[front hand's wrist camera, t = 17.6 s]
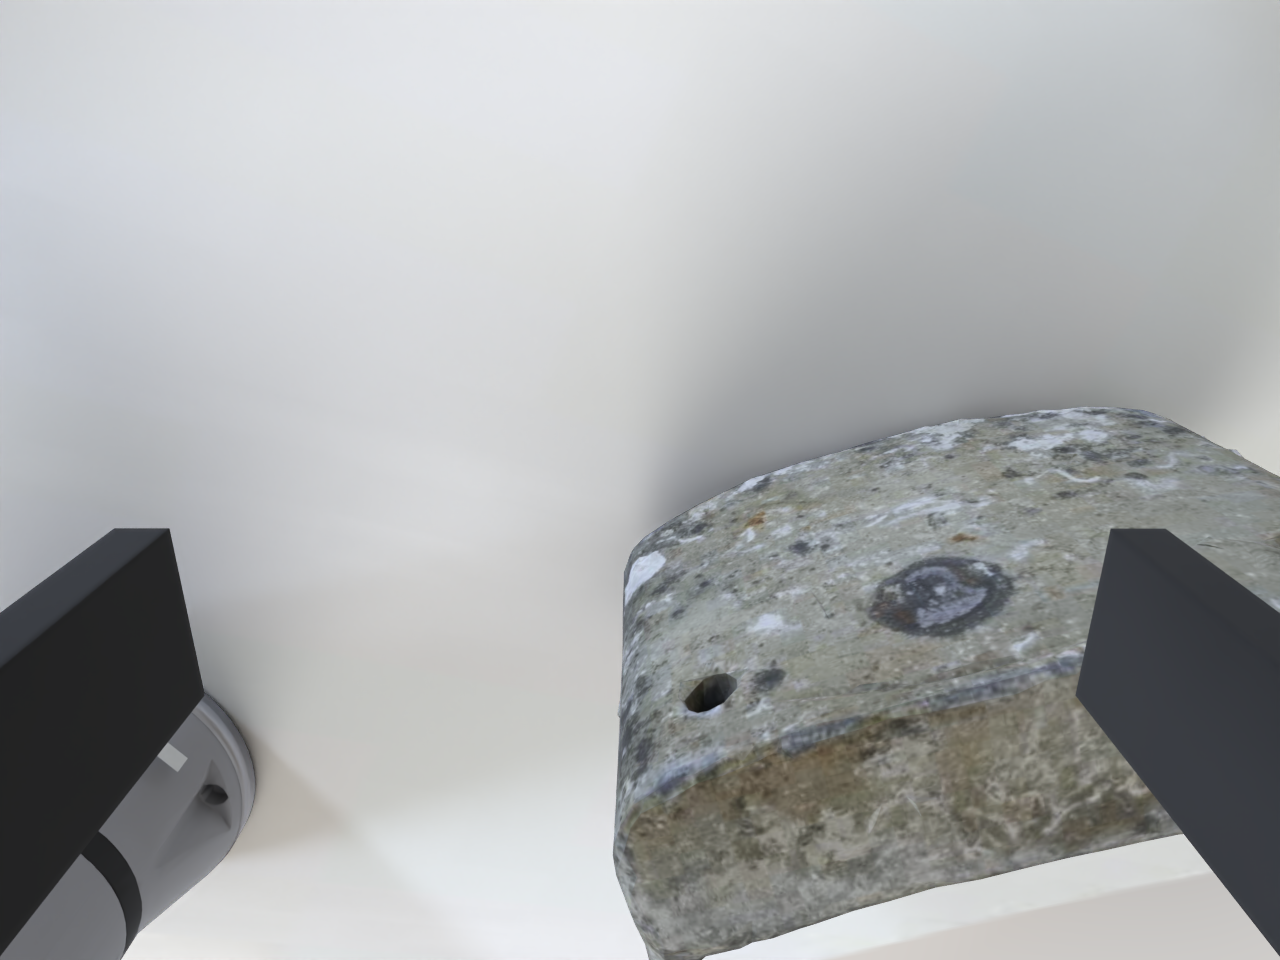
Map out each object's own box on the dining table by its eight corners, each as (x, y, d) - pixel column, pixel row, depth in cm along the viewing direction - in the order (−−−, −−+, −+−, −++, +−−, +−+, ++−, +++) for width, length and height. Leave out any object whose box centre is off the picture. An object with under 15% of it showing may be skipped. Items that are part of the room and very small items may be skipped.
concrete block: (1157, 361, 40) (1599, 550, 22) (1165, 530, 44) (1559, 823, 25) (599, 496, 43) (567, 771, 24) (644, 648, 46) (647, 995, 27)
